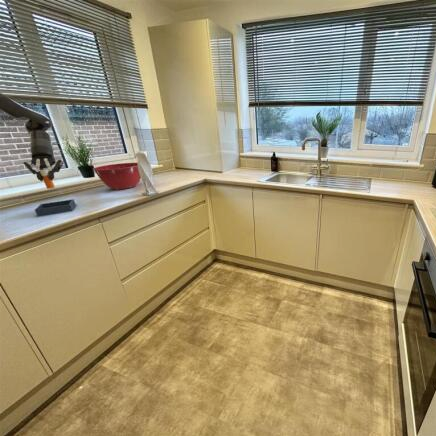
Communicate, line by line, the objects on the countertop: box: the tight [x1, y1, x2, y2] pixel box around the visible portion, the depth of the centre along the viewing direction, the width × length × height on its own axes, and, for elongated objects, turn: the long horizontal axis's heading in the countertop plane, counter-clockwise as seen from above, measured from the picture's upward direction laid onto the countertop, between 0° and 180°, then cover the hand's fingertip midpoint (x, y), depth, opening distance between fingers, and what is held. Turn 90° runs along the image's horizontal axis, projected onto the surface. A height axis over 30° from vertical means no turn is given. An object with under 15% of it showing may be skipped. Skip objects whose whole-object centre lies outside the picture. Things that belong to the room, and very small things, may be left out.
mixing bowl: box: [92, 162, 141, 191], centre depth 168 cm, size 28×28×15 cm
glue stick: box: [39, 169, 56, 189], centre depth 112 cm, size 3×3×8 cm
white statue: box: [133, 148, 160, 197], centre depth 148 cm, size 8×8×28 cm
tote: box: [34, 199, 77, 217], centre depth 124 cm, size 13×11×4 cm
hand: (46, 179), depth 110 cm, fingers closed on glue stick, 3 cm apart
